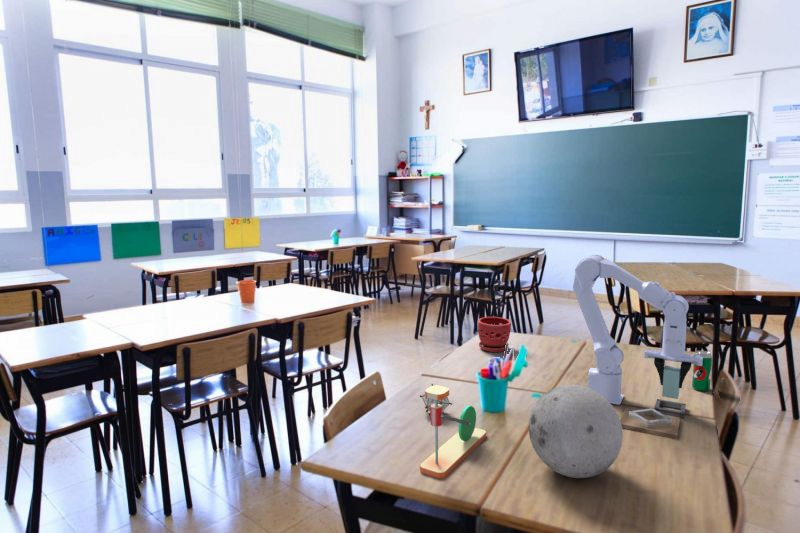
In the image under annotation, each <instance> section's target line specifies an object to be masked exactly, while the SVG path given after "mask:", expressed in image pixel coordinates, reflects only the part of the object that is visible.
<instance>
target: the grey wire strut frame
mask: <svg viewBox="0 0 800 533" xmlns="http://www.w3.org/2000/svg"><path fill="white" fill-rule="evenodd" d="M433 385H434V384H433V383H431V386H433ZM448 397H449V396H448ZM448 397H446V398H445V399H443V400H438V404H440V405H442V412H443V411H444V410H445V409H446V408H448V406H449V405H450V406H451V405H453V403H452V402H450V400H449V398H448ZM419 398H421V399H422V402H423V403H424V409H425V413H428V411H429V412H430V406H431V405H432V404H435V400H433V399H429V398H427V397H425V393H423V394H422V395H419Z"/></svg>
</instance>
